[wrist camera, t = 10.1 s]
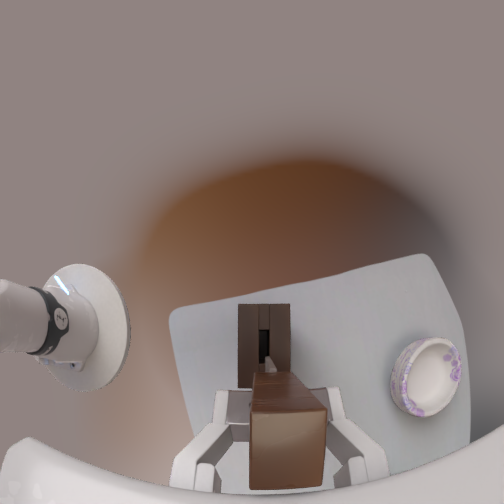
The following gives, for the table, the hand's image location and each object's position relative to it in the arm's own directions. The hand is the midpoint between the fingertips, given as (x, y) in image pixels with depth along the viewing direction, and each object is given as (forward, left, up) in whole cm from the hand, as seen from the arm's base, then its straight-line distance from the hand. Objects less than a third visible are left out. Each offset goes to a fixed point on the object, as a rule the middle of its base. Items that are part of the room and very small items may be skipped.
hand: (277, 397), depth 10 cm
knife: (0, -1, -12) cm, 12 cm away
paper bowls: (+28, -15, -38) cm, 50 cm away
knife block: (0, +1, -38) cm, 38 cm away
